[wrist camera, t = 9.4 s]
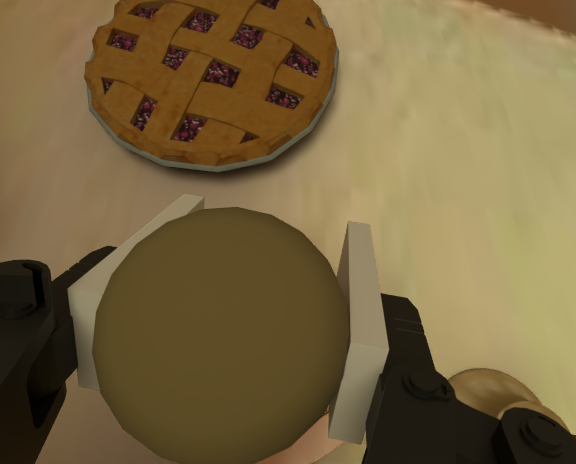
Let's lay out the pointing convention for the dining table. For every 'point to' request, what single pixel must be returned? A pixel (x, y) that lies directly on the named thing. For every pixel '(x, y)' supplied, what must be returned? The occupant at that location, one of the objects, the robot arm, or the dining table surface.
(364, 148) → the dining table surface
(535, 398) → the hand bell
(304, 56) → the pie
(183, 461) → the cork
